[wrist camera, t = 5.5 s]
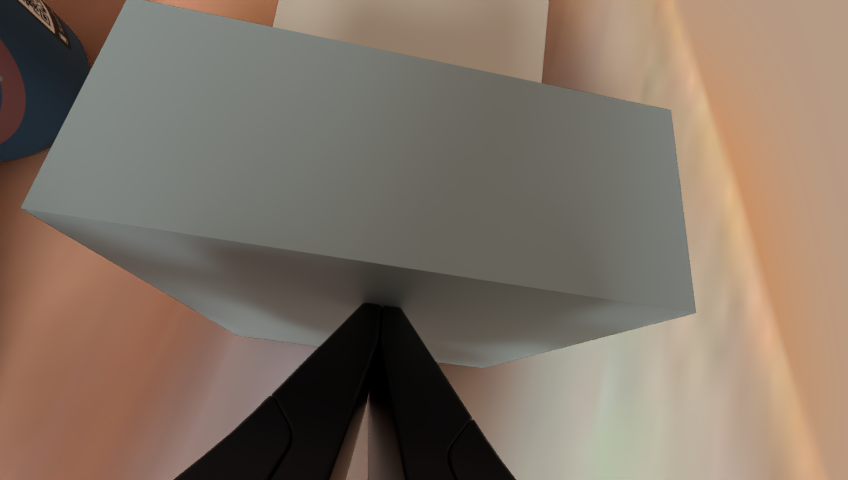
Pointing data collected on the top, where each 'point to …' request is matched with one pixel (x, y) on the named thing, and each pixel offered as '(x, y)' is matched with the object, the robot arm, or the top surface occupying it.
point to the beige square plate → (433, 29)
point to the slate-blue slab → (366, 189)
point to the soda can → (36, 76)
